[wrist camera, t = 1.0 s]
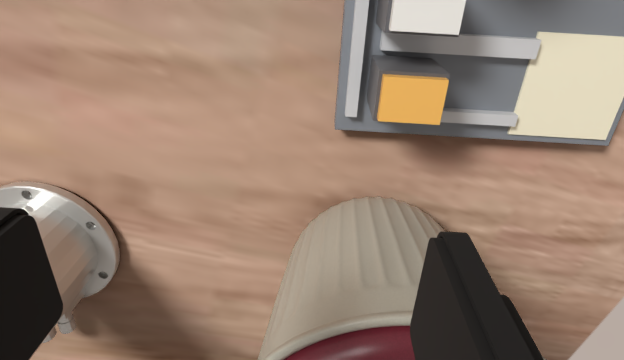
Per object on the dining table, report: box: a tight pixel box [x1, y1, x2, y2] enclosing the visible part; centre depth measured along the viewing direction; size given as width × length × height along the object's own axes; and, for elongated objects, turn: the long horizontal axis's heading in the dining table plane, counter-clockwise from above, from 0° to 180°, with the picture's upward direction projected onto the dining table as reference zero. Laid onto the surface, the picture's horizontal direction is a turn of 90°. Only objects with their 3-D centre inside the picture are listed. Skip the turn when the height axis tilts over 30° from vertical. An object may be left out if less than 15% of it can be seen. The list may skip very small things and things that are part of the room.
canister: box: [258, 196, 546, 360], centre depth 27 cm, size 18×18×21 cm
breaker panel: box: [335, 0, 624, 146], centre depth 27 cm, size 13×20×2 cm, turn 87°
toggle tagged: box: [367, 55, 451, 125], centre depth 25 cm, size 3×4×5 cm
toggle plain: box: [376, 0, 466, 37], centre depth 23 cm, size 3×4×5 cm
